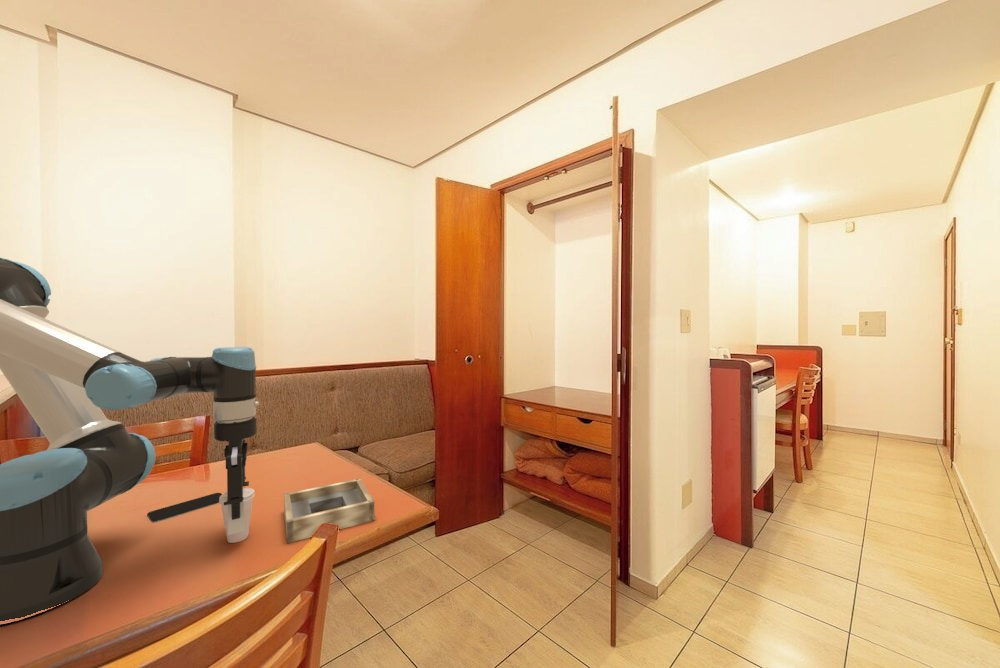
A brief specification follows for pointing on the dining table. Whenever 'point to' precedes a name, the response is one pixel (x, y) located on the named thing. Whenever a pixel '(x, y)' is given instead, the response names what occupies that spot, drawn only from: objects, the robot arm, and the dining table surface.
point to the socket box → (326, 497)
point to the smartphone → (183, 507)
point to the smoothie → (248, 497)
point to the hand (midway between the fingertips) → (237, 524)
